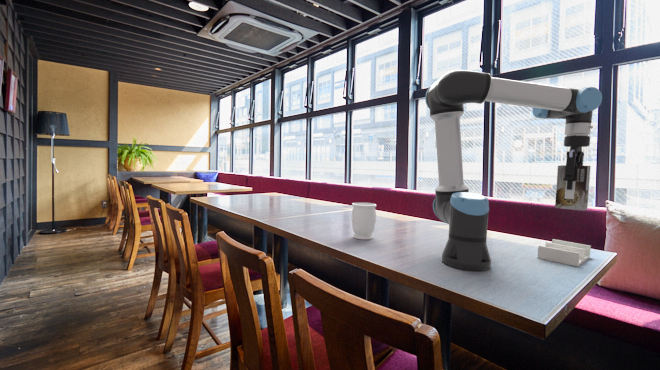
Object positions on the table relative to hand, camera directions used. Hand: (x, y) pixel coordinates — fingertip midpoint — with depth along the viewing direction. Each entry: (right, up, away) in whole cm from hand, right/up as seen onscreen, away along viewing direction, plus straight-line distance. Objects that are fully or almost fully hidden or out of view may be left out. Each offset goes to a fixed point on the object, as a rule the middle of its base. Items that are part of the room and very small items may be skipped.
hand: (571, 198), depth 120 cm
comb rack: (-4, -22, -1) cm, 22 cm away
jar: (-76, -18, +21) cm, 80 cm away
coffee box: (0, -4, 0) cm, 4 cm away
